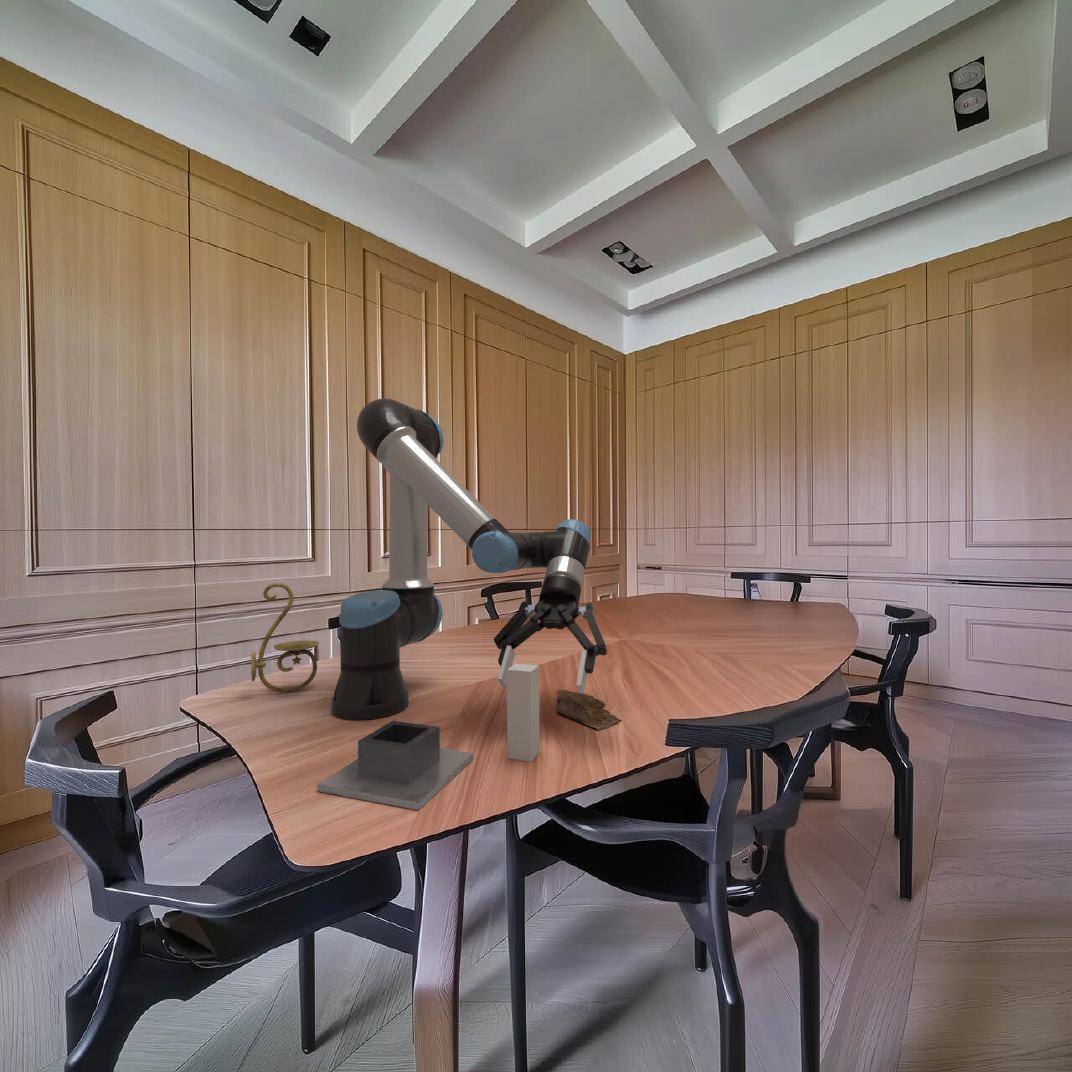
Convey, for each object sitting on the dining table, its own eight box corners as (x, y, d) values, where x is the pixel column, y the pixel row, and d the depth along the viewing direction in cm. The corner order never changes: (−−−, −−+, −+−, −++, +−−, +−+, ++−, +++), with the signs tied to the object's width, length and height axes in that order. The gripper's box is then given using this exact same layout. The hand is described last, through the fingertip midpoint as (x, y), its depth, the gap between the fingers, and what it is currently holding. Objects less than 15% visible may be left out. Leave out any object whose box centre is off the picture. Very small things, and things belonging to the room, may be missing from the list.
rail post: (507, 758, 82) (507, 669, 82) (516, 748, 85) (516, 663, 85) (531, 761, 80) (530, 671, 80) (539, 751, 84) (539, 665, 84)
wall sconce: (251, 703, 110) (250, 585, 110) (251, 691, 118) (250, 582, 118) (321, 693, 117) (321, 582, 117) (317, 682, 125) (316, 579, 125)
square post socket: (317, 791, 71) (317, 747, 71) (386, 746, 86) (386, 710, 86) (418, 810, 66) (418, 763, 66) (473, 759, 81) (473, 721, 81)
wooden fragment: (629, 730, 94) (629, 724, 94) (570, 735, 92) (570, 729, 92) (587, 689, 119) (587, 685, 119) (541, 692, 117) (541, 688, 117)
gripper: (629, 599, 98) (618, 703, 84) (507, 596, 106) (478, 691, 92) (624, 573, 93) (611, 680, 79) (496, 572, 101) (464, 669, 87)
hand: (539, 686), depth 85 cm, fingers open, 13 cm apart
